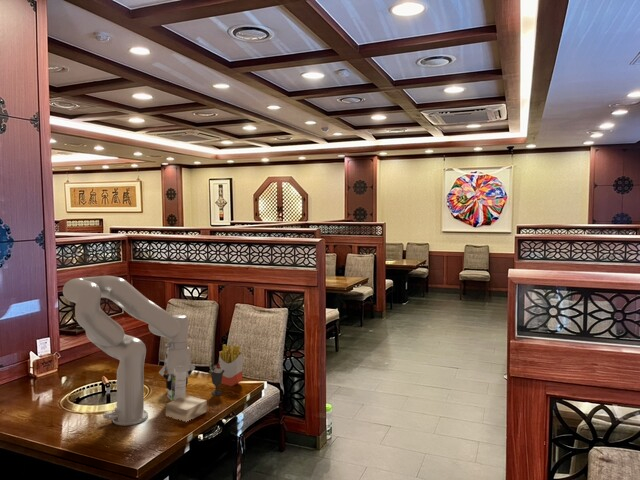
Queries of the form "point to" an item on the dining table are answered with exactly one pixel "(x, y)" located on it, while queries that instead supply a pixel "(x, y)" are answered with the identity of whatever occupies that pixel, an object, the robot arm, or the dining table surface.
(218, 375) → the sundae
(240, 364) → the french fries container
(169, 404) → the riser block
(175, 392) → the syrup box
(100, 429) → the dining table surface
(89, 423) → the dining table surface
